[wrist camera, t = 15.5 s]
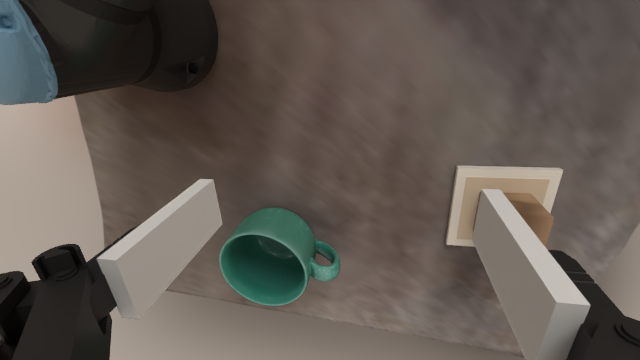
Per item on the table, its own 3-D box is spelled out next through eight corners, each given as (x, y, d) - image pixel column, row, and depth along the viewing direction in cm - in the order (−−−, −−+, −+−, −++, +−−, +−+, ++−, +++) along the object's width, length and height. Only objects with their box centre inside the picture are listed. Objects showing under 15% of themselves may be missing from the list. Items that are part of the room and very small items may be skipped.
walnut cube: (472, 230, 43) (485, 257, 37) (479, 191, 40) (494, 215, 35) (520, 233, 41) (540, 261, 36) (530, 193, 39) (554, 218, 34)
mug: (245, 255, 53) (220, 296, 45) (245, 191, 48) (215, 224, 40) (339, 274, 51) (331, 320, 43) (349, 210, 46) (342, 249, 37)
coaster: (445, 241, 45) (446, 245, 44) (456, 165, 40) (458, 168, 39) (536, 247, 43) (539, 251, 42) (559, 167, 38) (563, 170, 37)
